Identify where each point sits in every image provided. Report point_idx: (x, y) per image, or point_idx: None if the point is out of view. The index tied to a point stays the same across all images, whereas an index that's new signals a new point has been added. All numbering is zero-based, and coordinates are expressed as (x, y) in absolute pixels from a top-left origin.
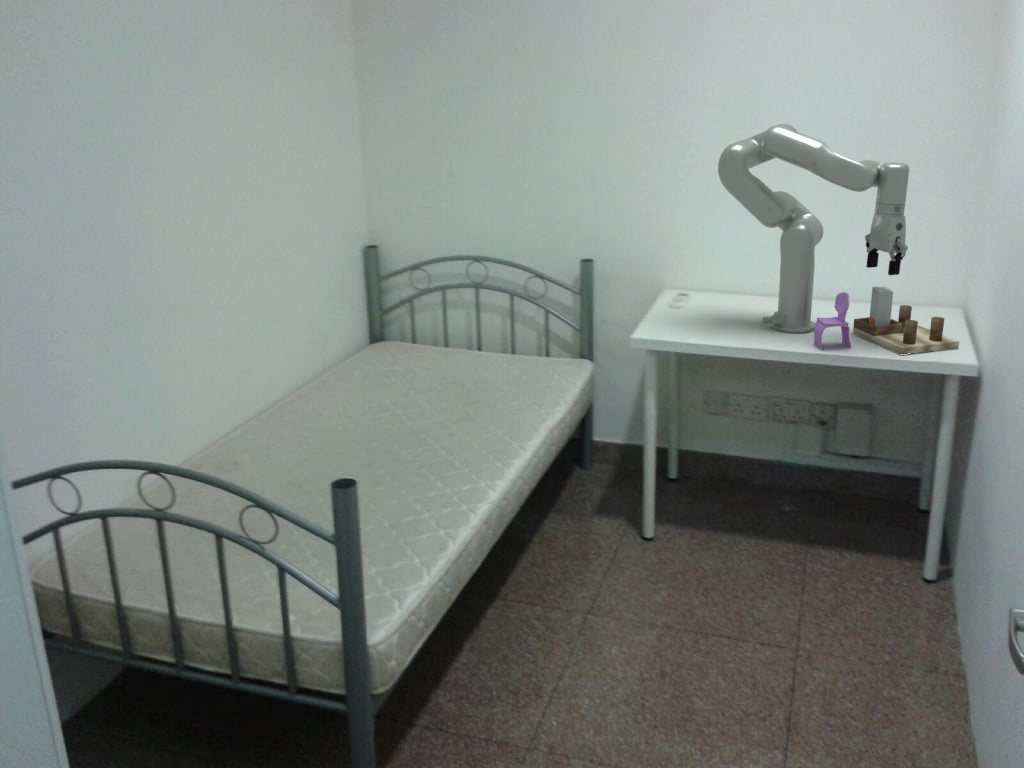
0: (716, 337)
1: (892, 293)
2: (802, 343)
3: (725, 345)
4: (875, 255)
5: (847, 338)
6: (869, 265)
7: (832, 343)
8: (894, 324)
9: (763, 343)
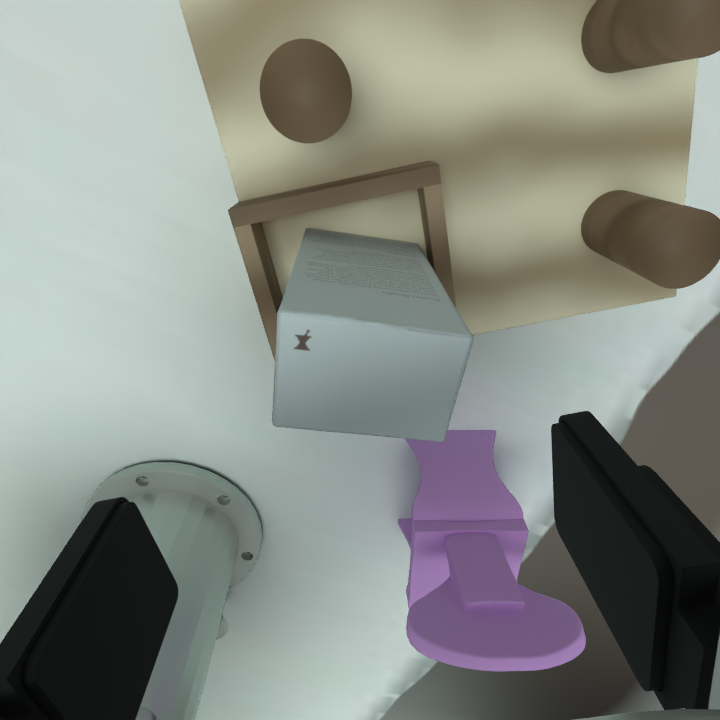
0: (281, 716)
1: (469, 334)
2: (389, 552)
3: (365, 712)
4: (74, 683)
5: (480, 463)
6: (167, 600)
7: (411, 470)
8: (433, 231)
9: (364, 640)
